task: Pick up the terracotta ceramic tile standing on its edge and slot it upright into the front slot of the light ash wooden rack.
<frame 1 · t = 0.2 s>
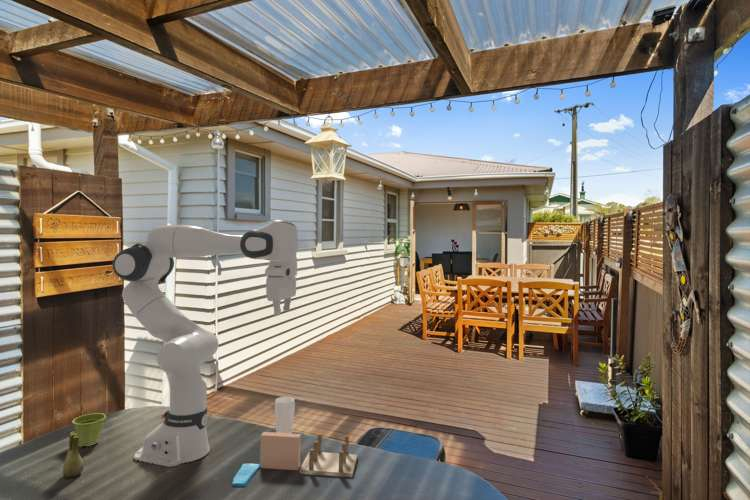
hand: (282, 312, 134), 47 cm above the table, tool pointing down, fingers open, 8 cm apart
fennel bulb: (73, 475, 121), on the table
ceramic tile: (280, 467, 128), on the table
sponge: (243, 477, 123), on the table
plant pot: (88, 444, 141), on the table
slot rack: (329, 465, 129), on the table
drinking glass: (283, 443, 145), on the table
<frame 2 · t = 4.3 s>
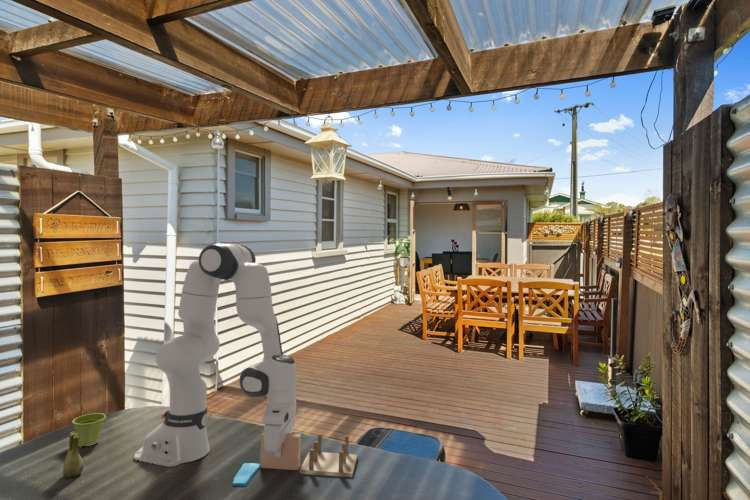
hand: (280, 453, 128), 4 cm above the table, tool pointing down, fingers closed on ceramic tile, 2 cm apart
ceramic tile: (280, 466, 128), on the table, touching gripper
everything else where it was.
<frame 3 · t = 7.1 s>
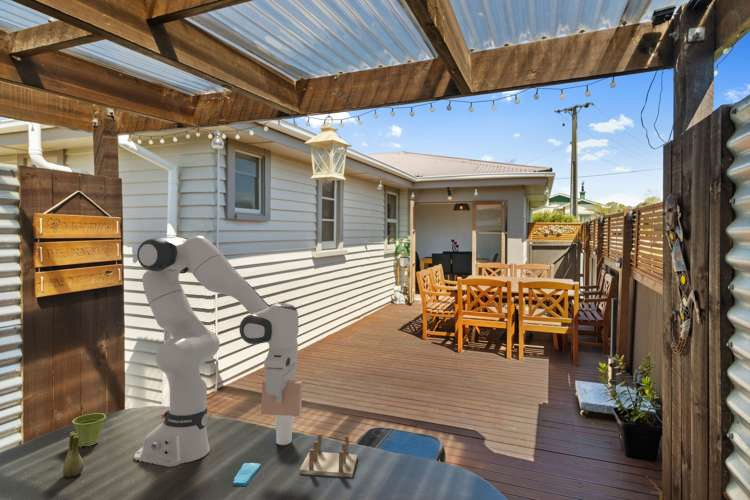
hand: (281, 400, 129), 20 cm above the table, tool pointing down, fingers closed on ceramic tile, 2 cm apart
ceramic tile: (281, 413, 128), point 16 cm above the table, touching gripper
everything else where it was.
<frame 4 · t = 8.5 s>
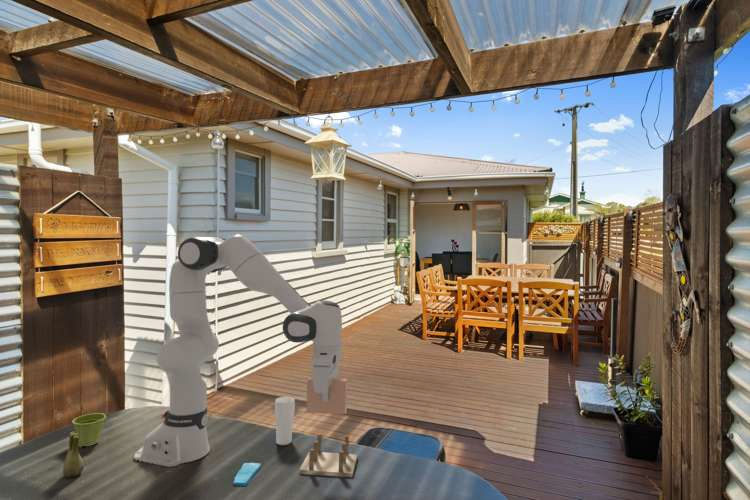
hand: (326, 398, 127), 22 cm above the table, tool pointing down, fingers closed on ceramic tile, 2 cm apart
ceramic tile: (326, 412, 127), point 18 cm above the table, touching gripper
everything else where it was.
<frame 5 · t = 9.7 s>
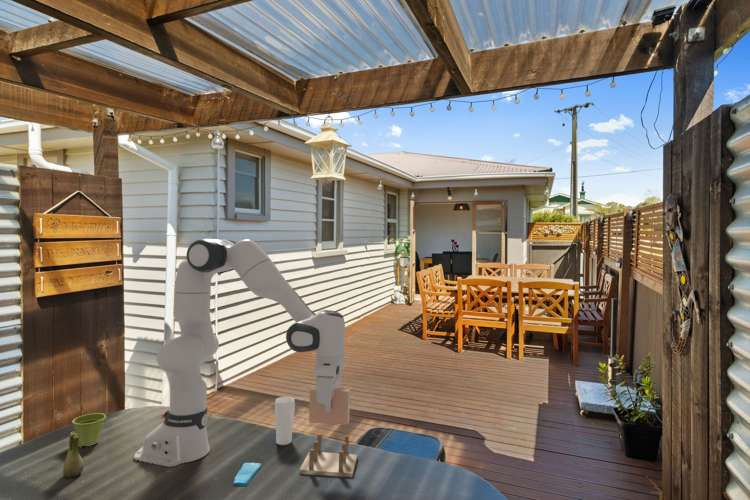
hand: (329, 408, 127), 19 cm above the table, tool pointing down, fingers closed on ceramic tile, 2 cm apart
ceramic tile: (329, 422, 127), point 15 cm above the table, touching gripper
everything else where it was.
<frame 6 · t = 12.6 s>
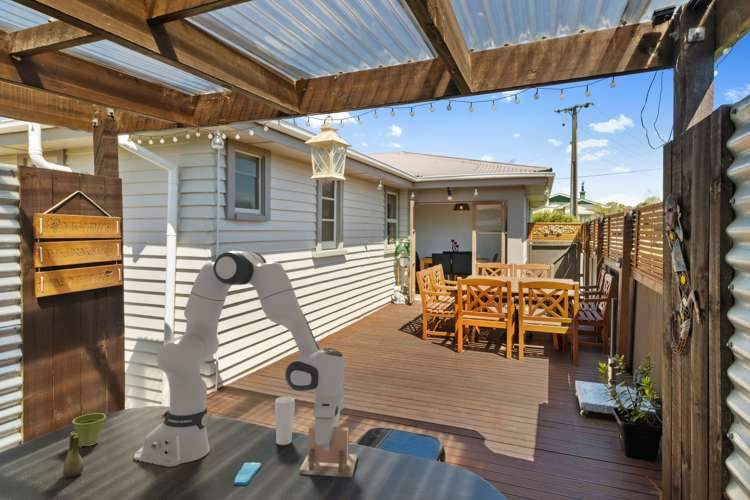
hand: (328, 447, 127), 7 cm above the table, tool pointing down, fingers closed on ceramic tile, 2 cm apart
ceramic tile: (327, 460, 127), point 3 cm above the table, touching gripper
everything else where it was.
when the fingers open (7 cm above the table, at t = 12.8 s): ceramic tile drops 2 cm, resting on slot rack.
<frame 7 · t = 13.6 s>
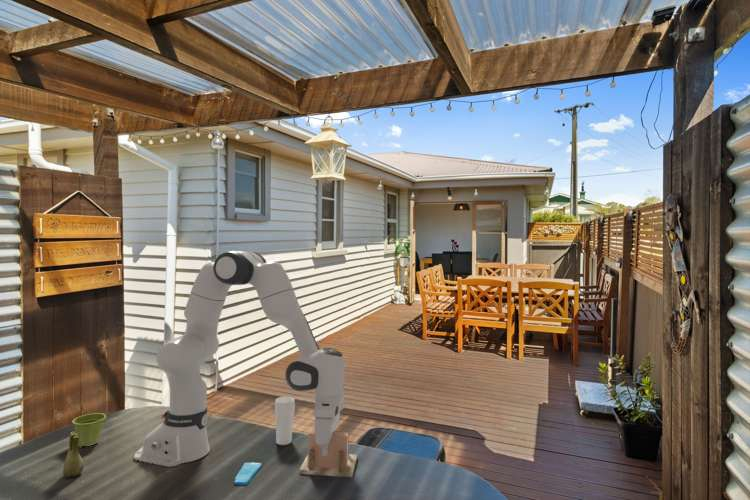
hand: (328, 447, 127), 7 cm above the table, tool pointing down, fingers open, 8 cm apart
ceramic tile: (327, 466, 127), point 1 cm above the table, touching slot rack
everything else where it was.
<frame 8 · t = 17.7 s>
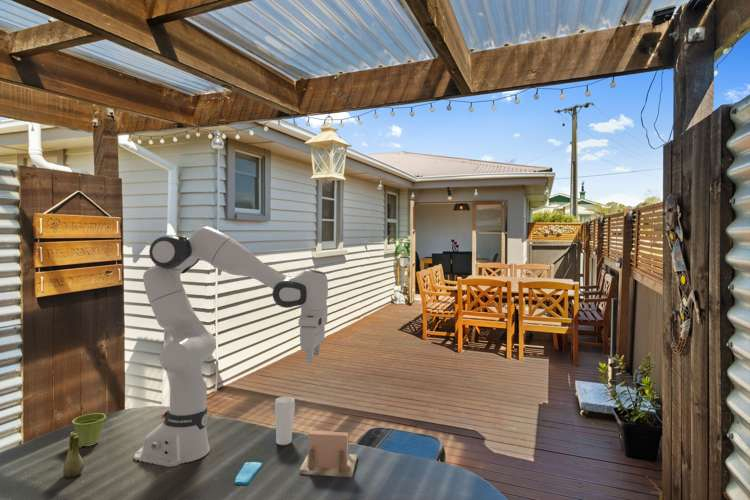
hand: (313, 358, 139), 31 cm above the table, tool pointing down, fingers open, 8 cm apart
nothing on the table moved.
at the end: ceramic tile 0.1 cm from the target spot on the slot rack, point 1.2 cm above the slot rack's base; ceramic tile tilted 0°; the gripper is holding nothing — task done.
